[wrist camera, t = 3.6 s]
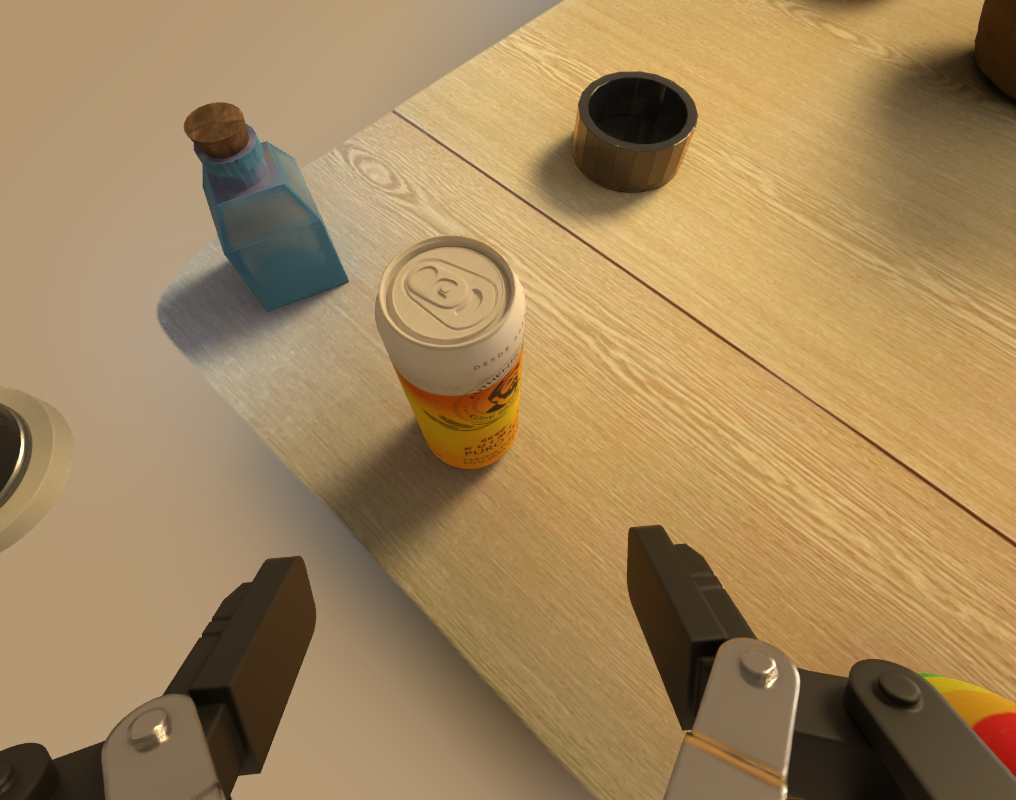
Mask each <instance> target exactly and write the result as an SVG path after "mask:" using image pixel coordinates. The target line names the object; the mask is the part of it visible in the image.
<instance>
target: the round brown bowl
mask: <svg viewBox="0 0 1016 800" xmlns="http://www.w3.org/2000/svg"><path fill="white" fill-rule="evenodd" d="M697 118H698V113H697V110H696V106H695V103H694V101H693V99H692V98H691V97H690V95H689V94H688V93H687V92H686V91H685V90H684V89H683V88H681V87H680V86H679V85H677V84H676V83H675V82H673V81H671V80H669V79H666V78H664V77H661V76H659V75H656V74H651V73H646V72H640V71H639V72H617V73H613V74H609V75H605V76H603V77H601V78H599V79H597V80H596V81H594V82H592V83H591V84H590V85H589V86H588V87H587V88H586V89H585V90H584V91H583V92H582V94H581V97H580V100H579V103H578V109H577V116H576V123H575V130H574V137H573V156H574V160H575V162H576V164H577V166H578V167H579V169H580V170H581V171H582V172H583V174H585V175H586V176H587V177H588V178H589V179H591V180H592V181H594V182H595V183H597V184H599V185H601V186H603V187H606V188H609V189H612V190H616V191H621V192H643V191H649V190H652V189H655V188H658V187H660V186H662V185H664V184H666V183H667V182H668V181H670V180H671V179H672V178H673V177H674V176H675V175H676V173H677V172H678V170H679V168H680V165H681V164H682V162H683V159H684V156H685V154H686V151H687V149H688V146H689V143H690V141H691V138H692V136H693V133H694V130H695V128H696V123H697Z"/></svg>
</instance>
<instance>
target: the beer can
mask: <svg viewBox="0 0 1016 800" xmlns="http://www.w3.org/2000/svg"><path fill="white" fill-rule="evenodd" d="M525 311H526V302H525V295H524V291H523V288H522V286H521V283H520V282H519V280H518V278H517V276H516V275H515V274H514V272H513V270H512V268H511V266H510V265H509V263H508V262H507V260H506V259H505V258H504V256H503V255H502V254H501V253H500V252H498V251H497V250H496V249H495V248H493V247H492V246H490V245H489V244H487V243H485V242H483V241H480V240H478V239H475V238H472V237H468V236H462V235H439V236H433V237H429V238H426V239H423V240H420V241H417V242H415V243H413V244H411V245H410V246H408V247H406V248H405V249H403V250H402V251H401V252H399V253H398V254H397V255H396V256H395V257H394V258H393V259H392V261H391V262H390V263H389V264H388V266H387V267H386V269H385V271H384V273H383V275H382V278H381V281H380V285H379V292H378V295H377V299H376V304H375V320H376V324H377V328H378V331H379V333H380V336H381V338H382V340H383V343H384V345H385V347H386V350H387V352H388V354H389V356H390V359H391V361H392V363H393V366H394V368H395V370H396V373H397V375H398V377H399V380H400V382H401V384H402V387H403V389H404V391H405V394H406V396H407V398H408V401H409V403H410V405H411V408H412V410H413V412H414V414H415V417H416V419H417V421H418V424H419V426H420V428H421V431H422V433H423V435H424V438H425V440H426V442H427V444H428V446H429V448H430V449H431V451H432V452H433V453H434V454H435V455H436V456H437V457H438V458H439V459H440V460H442V461H443V462H445V463H447V464H449V465H451V466H454V467H458V468H464V469H474V468H480V467H484V466H487V465H490V464H492V463H494V462H495V461H497V460H499V459H500V458H501V457H502V456H503V455H504V454H505V453H506V452H507V451H508V450H509V449H510V447H511V446H512V444H513V442H514V440H515V437H516V434H517V429H518V416H519V401H520V386H521V371H522V356H523V341H524V326H525Z"/></svg>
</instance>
